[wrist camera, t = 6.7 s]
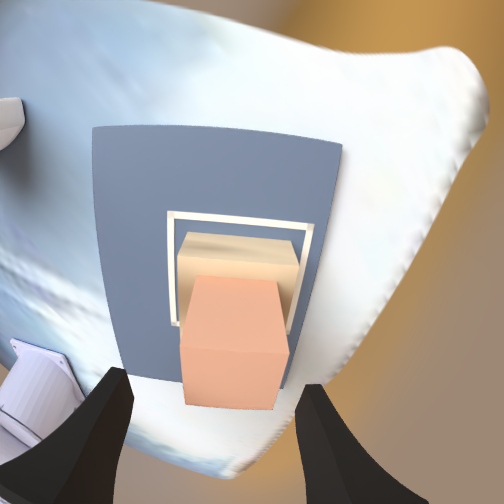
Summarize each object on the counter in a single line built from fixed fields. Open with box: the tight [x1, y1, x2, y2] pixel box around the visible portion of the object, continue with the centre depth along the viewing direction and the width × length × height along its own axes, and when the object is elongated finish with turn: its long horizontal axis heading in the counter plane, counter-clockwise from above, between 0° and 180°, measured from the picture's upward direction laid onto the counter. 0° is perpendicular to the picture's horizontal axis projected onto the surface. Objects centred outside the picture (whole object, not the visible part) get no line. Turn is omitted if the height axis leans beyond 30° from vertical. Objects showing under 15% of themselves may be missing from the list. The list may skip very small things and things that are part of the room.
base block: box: [177, 232, 299, 342], centre depth 17 cm, size 6×6×3 cm
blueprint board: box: [92, 125, 342, 389], centre depth 19 cm, size 20×14×1 cm
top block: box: [180, 275, 290, 410], centre depth 13 cm, size 4×4×5 cm
